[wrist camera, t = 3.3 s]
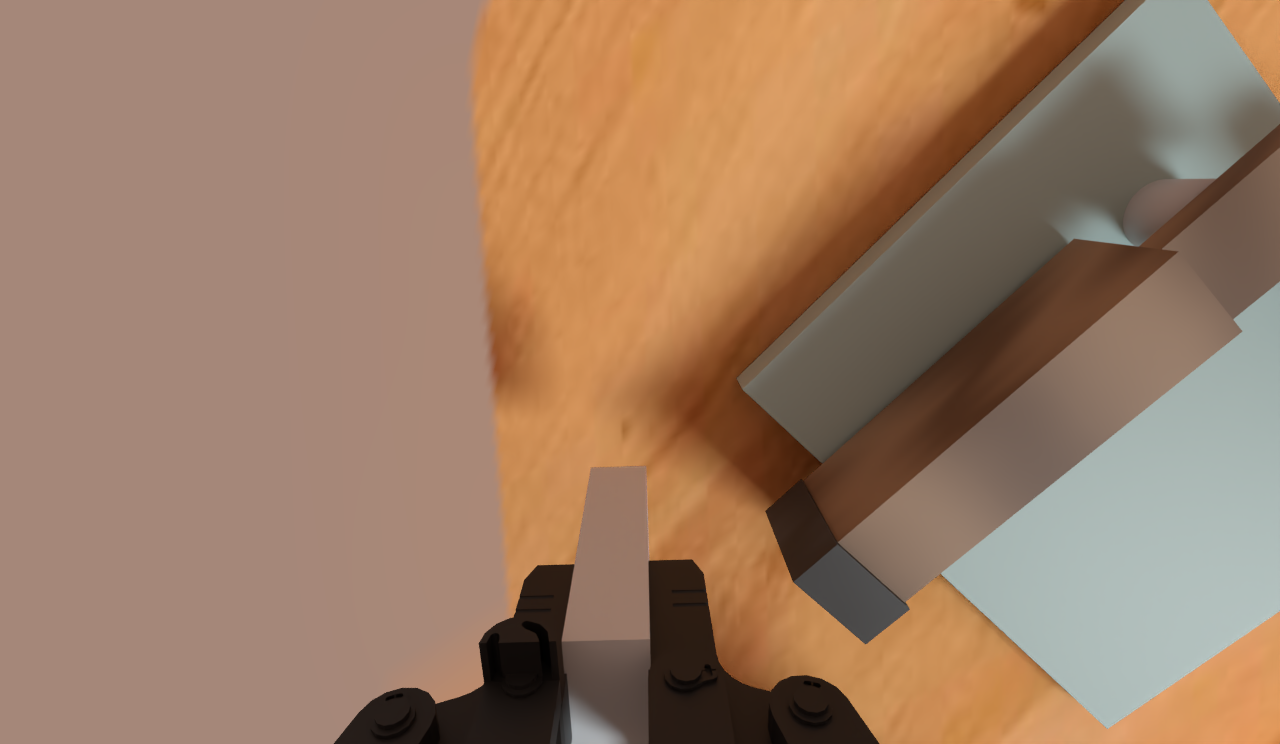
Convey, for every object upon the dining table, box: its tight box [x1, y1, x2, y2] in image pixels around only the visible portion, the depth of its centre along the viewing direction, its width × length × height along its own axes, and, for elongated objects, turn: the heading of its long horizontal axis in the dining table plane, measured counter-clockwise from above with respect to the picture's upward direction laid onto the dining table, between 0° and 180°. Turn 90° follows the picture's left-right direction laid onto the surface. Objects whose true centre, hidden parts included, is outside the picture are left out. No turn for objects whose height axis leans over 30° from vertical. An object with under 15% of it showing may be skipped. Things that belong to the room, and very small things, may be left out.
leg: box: [766, 124, 1280, 644], centre depth 17 cm, size 16×3×4 cm, turn 137°
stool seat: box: [737, 0, 1280, 729], centre depth 18 cm, size 16×20×5 cm
